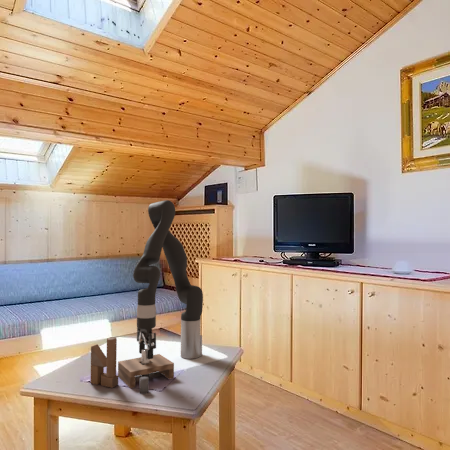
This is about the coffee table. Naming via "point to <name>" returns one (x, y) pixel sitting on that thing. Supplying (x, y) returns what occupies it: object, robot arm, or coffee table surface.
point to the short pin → (143, 385)
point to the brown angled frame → (104, 364)
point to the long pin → (145, 361)
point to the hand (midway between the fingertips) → (145, 355)
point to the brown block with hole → (144, 368)
